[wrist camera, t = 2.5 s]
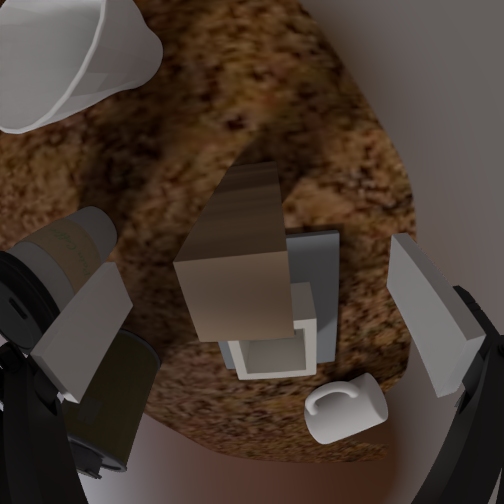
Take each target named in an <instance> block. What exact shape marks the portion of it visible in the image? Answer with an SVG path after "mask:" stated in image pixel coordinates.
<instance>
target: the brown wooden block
mask: <svg viewBox="0 0 504 504" xmlns="http://www.w3.org/2000/svg"><path fill="white" fill-rule="evenodd" d="M173 264H174V268H175V271H176V274H177V277H178V280H179V283H180V286H181V289H182V292H183V295H184V298H185V301H186V304H187V307H188V310H189V312H190V315H191V318H192V321H193V324H194V326H195V329H196V332H197V334H198V337H199V340H200V342H215V341H240V340H258V339H272V338H284V337H295V336H294V322H293V309H292V297H291V285H290V274H289V263H288V253H287V243H286V235H285V226H284V217H283V209H282V201H281V193H280V185H279V177H278V170H277V162H276V161H272V162H263V163H255V164H247V165H240V166H233V167H230V168H229V169H228V171H227V172H226V174H225V175H224V177H223V179H222V180H221V182H220V183H219V185H218V187H217V188H216V190H215V191H214V193H213V195H212V196H211V198H210V200H209V201H208V203H207V204H206V206H205V208H204V209H203V211H202V213H201V214H200V216H199V218H198V219H197V221H196V223H195V224H194V226H193V228H192V230H191V231H190V233H189V235H188V236H187V238H186V240H185V242H184V243H183V245H182V247H181V249H180V250H179V252H178V254H177V256H176V258H175V259H174V261H173Z"/></svg>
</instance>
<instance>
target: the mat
mask: <svg viewBox="0 0 504 504" xmlns="http://www.w3.org/2000/svg"><path fill="white" fill-rule="evenodd" d="M286 243H287V253H288V263H289V274H290V284H292V283H302V282H310V286H311V292H312V297H313V302H314V308H315V313H316V327H317V336H316V363H322V362H331V361H334V359H335V347H336V333H337V316H338V293H339V232H338V230H329V231H319V232H309V233H299V234H289V235H286ZM218 343H219V346H220V349H221V352H222V355H223V358H224V361H225V364H226V367H227V369H236V367H235V364H234V361H233V358H232V354H231V351H230V348H229V344H228V341H218Z"/></svg>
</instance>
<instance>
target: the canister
mask: <svg viewBox="0 0 504 504" xmlns="http://www.w3.org/2000/svg"><path fill="white" fill-rule="evenodd" d="M159 369H160V360H159V357H158V355H157V353H156V352H155V350H154V349H153V348H152V347H151V346H150V345H149V344H148V343H147V342H146V341H144V340H143V339H141V338H140V337H138V336H136V335H135V334H133V333H131V332H128V331H125V330H122V329H119V330H118V332H117V334H116V336H115V337H114V339H113V341H112V343H111V344H110V346H109V348H108V350H107V352H106V353H105V355H104V357H103V359H102V361H101V362H100V364H99V366H98V368H97V370H96V372H95V374H94V376H93V377H92V379H91V381H90V383H89V385H88V387H87V389H86V391H85V393H84V395H83V397H82V399H81V401H80V403H75V402H72V401H68V400H66V399H65V398H64V400H63V402H62V404H61V407H62V413H63V418H64V423H65V427H66V432H67V436H68V440H69V444H70V448H71V452H72V456H73V459H74V463H75V466H76V469H77V472H79V473H81V474H84V475H87V476H90V477H92V478H95V479H97V478H98V479H101V478H102V476H100V475H99V474H98V473H99V470H100V467H102V468H105V469H108V470H111V471H115V472H125V471H127V467H126V465H127V462H128V458H129V455H130V452H131V449H132V445H133V442H134V439H135V435H136V432H137V429H138V426H139V423H140V420H141V417H142V414H143V411H144V408H145V405H146V402H147V399H148V396H149V393H150V390H151V387H152V385H153V382H154V379H155V376H156V373H157V372H158V371H159Z"/></svg>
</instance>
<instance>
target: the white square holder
mask: <svg viewBox="0 0 504 504" xmlns="http://www.w3.org/2000/svg"><path fill="white" fill-rule="evenodd" d="M290 285H291V297H292V309H293V322H294V336H295V337H284V338H272V339H258V340H240V341H228V344H229V348H230V351H231V354H232V358H233V361H234V364H235V367H236V371H237V374H238V377H239V379H265V378H281V377H294V376H305V375H314V374H316V336H317V327H316V313H315V308H314V302H313V297H312V292H311V286H310V282H302V283H292V284H290Z"/></svg>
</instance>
